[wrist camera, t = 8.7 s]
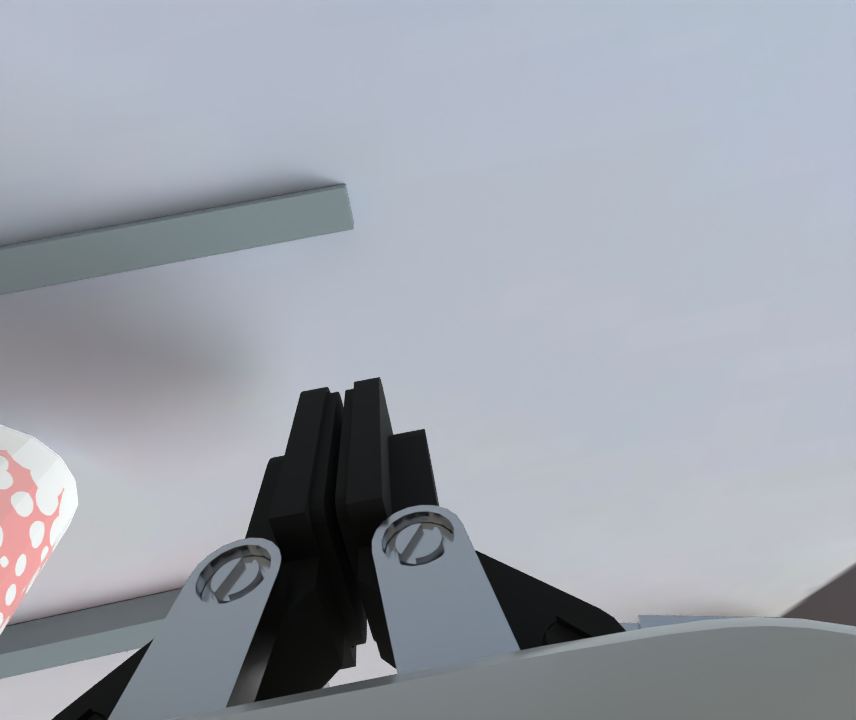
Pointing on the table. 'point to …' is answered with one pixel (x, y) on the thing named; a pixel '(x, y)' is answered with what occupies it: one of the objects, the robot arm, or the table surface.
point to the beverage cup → (29, 513)
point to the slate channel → (119, 253)
